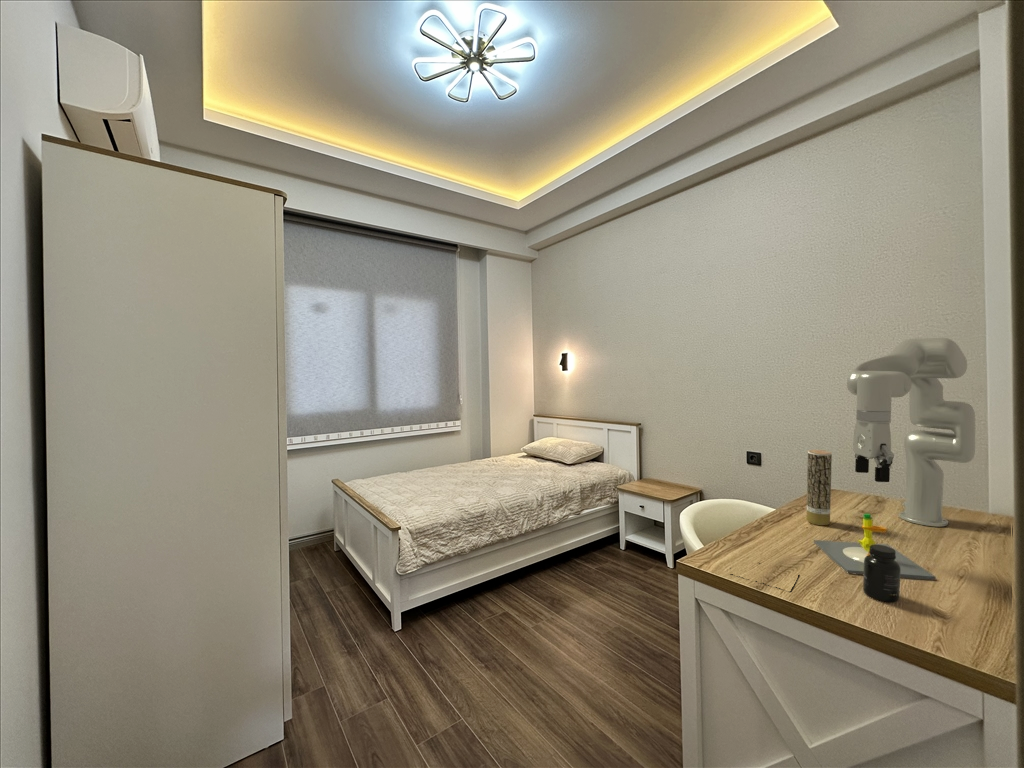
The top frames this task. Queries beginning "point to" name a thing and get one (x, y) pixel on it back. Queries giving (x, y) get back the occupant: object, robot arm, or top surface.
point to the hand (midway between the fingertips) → (871, 476)
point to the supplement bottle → (881, 574)
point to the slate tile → (854, 555)
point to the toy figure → (869, 532)
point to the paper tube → (819, 487)
